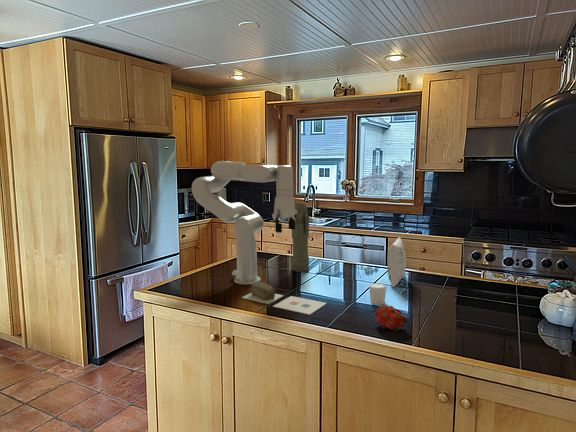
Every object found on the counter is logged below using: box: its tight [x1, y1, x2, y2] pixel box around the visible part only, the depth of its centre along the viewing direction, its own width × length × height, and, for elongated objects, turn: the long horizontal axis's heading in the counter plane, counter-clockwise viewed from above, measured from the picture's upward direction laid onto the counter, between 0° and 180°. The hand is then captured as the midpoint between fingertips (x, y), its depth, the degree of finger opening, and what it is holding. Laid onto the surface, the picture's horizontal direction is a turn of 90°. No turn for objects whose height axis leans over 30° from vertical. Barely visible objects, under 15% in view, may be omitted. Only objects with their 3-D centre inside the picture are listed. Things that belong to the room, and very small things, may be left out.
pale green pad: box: [241, 292, 284, 305], centre depth 177 cm, size 14×11×1 cm
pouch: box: [386, 236, 407, 289], centre depth 194 cm, size 8×19×20 cm, turn 152°
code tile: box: [272, 295, 327, 316], centre depth 167 cm, size 17×14×1 cm
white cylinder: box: [368, 282, 387, 305], centre depth 168 cm, size 7×7×7 cm
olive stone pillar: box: [291, 202, 310, 273], centre depth 216 cm, size 9×12×35 cm
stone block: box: [250, 281, 276, 299], centre depth 176 cm, size 6×12×5 cm, turn 38°
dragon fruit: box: [374, 304, 409, 332], centre depth 143 cm, size 8×8×12 cm
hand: (285, 230), depth 188 cm, fingers open, 9 cm apart
